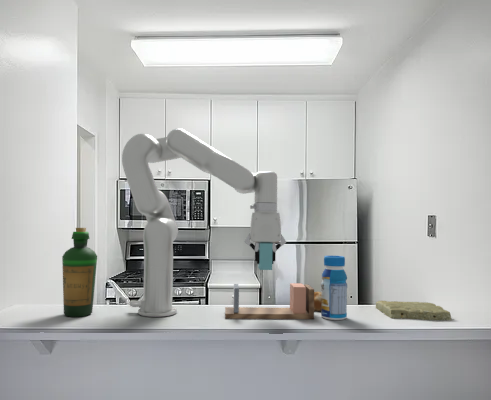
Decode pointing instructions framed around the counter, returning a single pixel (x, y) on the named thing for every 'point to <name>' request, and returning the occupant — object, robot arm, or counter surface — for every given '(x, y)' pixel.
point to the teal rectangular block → (265, 256)
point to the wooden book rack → (274, 310)
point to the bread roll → (317, 301)
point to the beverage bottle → (334, 289)
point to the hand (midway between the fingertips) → (265, 262)
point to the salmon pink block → (298, 298)
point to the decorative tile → (413, 310)
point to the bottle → (79, 276)
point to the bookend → (236, 298)
